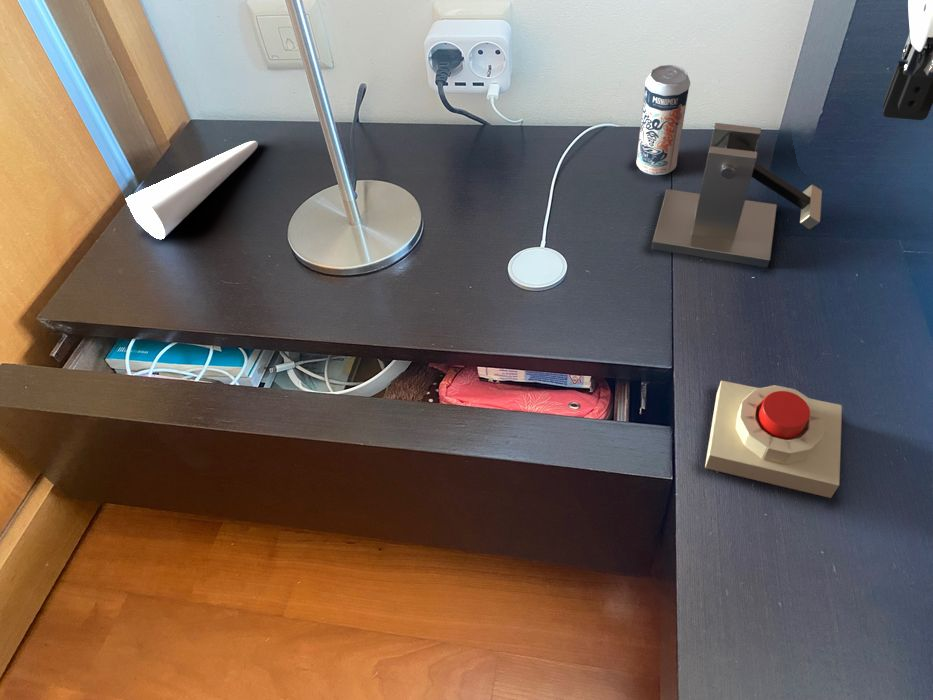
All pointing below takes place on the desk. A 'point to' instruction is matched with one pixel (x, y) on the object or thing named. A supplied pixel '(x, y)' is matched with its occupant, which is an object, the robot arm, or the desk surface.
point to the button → (783, 414)
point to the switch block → (775, 442)
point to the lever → (783, 187)
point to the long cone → (184, 191)
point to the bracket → (720, 208)
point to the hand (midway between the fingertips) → (903, 112)
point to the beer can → (662, 119)
